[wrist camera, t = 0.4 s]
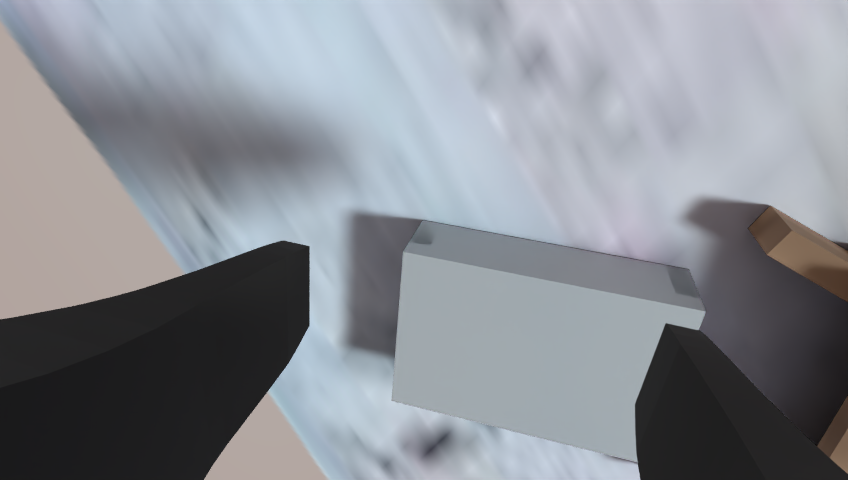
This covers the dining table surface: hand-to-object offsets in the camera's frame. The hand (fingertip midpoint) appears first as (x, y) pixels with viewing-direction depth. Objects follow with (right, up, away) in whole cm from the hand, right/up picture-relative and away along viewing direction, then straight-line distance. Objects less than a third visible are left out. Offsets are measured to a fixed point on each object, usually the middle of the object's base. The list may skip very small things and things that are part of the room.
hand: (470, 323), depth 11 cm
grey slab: (+4, -2, +11) cm, 12 cm away
